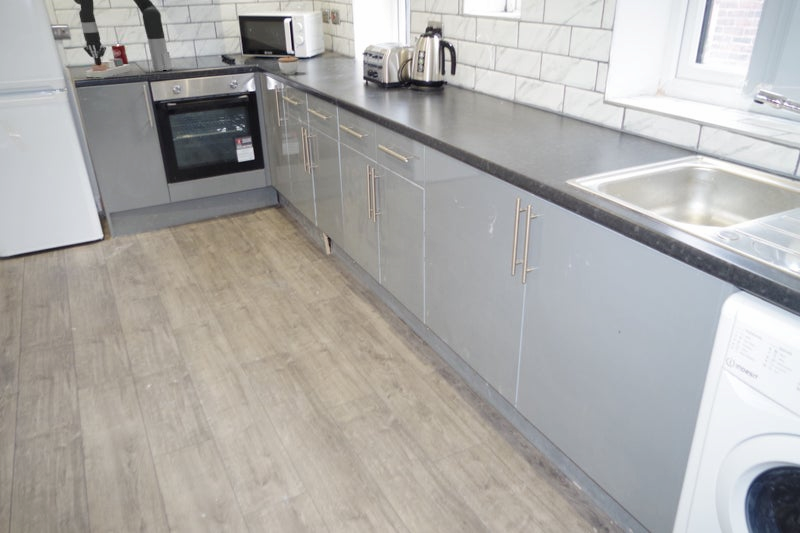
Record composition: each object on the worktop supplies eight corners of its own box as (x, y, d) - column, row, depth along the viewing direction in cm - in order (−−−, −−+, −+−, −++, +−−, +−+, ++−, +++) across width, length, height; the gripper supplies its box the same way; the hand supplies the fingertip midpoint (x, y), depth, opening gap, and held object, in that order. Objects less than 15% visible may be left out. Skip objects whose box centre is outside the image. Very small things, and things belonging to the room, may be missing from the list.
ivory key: (115, 68, 335) (113, 60, 333) (109, 69, 331) (107, 62, 329) (107, 67, 336) (106, 60, 334) (101, 69, 332) (100, 61, 330)
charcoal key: (123, 66, 341) (121, 58, 339) (117, 67, 337) (116, 60, 335) (115, 65, 342) (114, 58, 340) (110, 67, 338) (108, 59, 336)
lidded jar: (275, 74, 323) (273, 56, 319) (287, 71, 331) (286, 53, 327) (291, 75, 318) (289, 57, 314) (303, 72, 327) (302, 54, 322)
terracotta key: (107, 72, 330) (106, 65, 328) (101, 74, 325) (99, 66, 324) (100, 72, 331) (98, 64, 329) (93, 74, 327) (91, 66, 325)
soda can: (120, 67, 356) (115, 46, 351) (113, 66, 360) (108, 45, 355) (131, 65, 361) (126, 44, 356) (124, 64, 365) (120, 44, 360)
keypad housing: (131, 70, 344) (130, 64, 343) (103, 78, 323) (101, 71, 322) (116, 70, 346) (114, 64, 345) (87, 77, 326) (85, 71, 324)
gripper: (106, 30, 320) (113, 64, 328) (85, 30, 323) (93, 64, 331) (96, 32, 313) (104, 66, 321) (75, 32, 316) (83, 66, 324)
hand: (98, 65), depth 326 cm, fingers closed
